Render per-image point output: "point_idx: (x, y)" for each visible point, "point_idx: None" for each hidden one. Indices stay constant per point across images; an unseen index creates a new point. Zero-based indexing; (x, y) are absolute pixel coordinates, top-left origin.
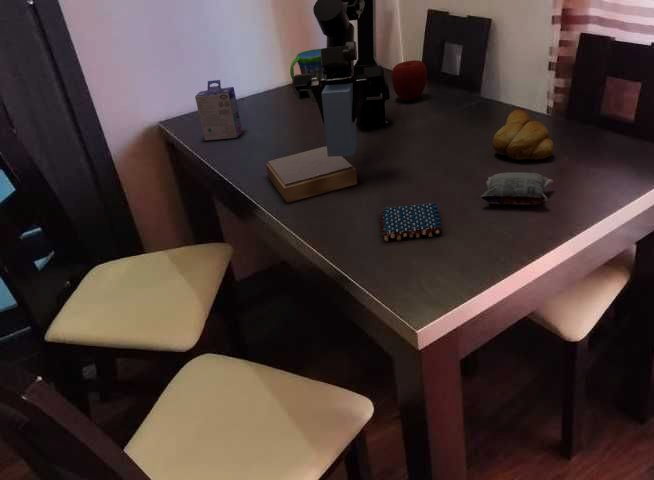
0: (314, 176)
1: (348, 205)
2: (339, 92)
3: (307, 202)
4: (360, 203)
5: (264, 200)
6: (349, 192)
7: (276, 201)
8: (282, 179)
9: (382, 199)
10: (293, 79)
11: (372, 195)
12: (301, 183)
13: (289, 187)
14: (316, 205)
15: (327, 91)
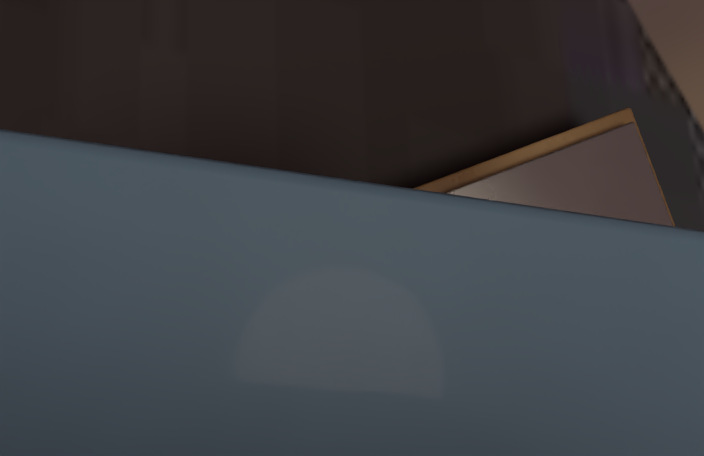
0: (462, 187)
1: (250, 8)
2: (75, 144)
3: (472, 109)
4: (183, 13)
5: (696, 197)
6: None
7: None
8: (659, 197)
9: (55, 26)
10: None
11: (112, 94)
12: (534, 145)
13: (599, 119)
14: (422, 59)
15: (663, 428)
